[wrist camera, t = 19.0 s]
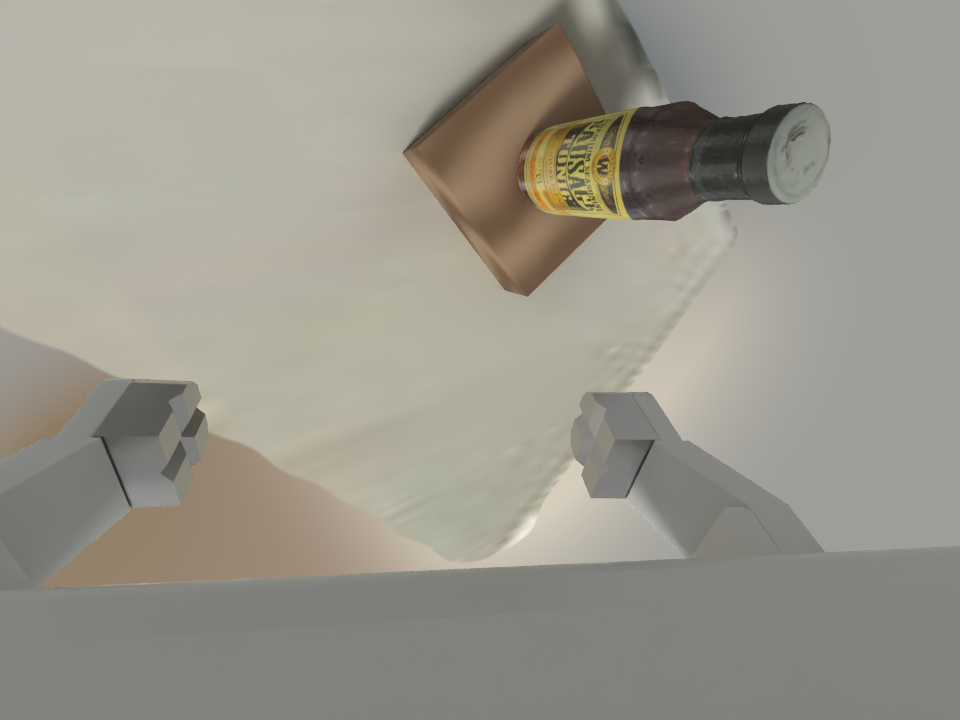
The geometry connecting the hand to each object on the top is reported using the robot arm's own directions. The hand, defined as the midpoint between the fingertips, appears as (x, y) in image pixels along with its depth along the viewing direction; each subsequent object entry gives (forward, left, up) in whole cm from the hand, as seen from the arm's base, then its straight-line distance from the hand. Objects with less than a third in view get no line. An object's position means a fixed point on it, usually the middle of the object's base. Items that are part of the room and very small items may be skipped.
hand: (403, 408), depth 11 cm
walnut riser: (+6, +19, -29) cm, 35 cm away
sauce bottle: (+6, +19, -25) cm, 32 cm away
